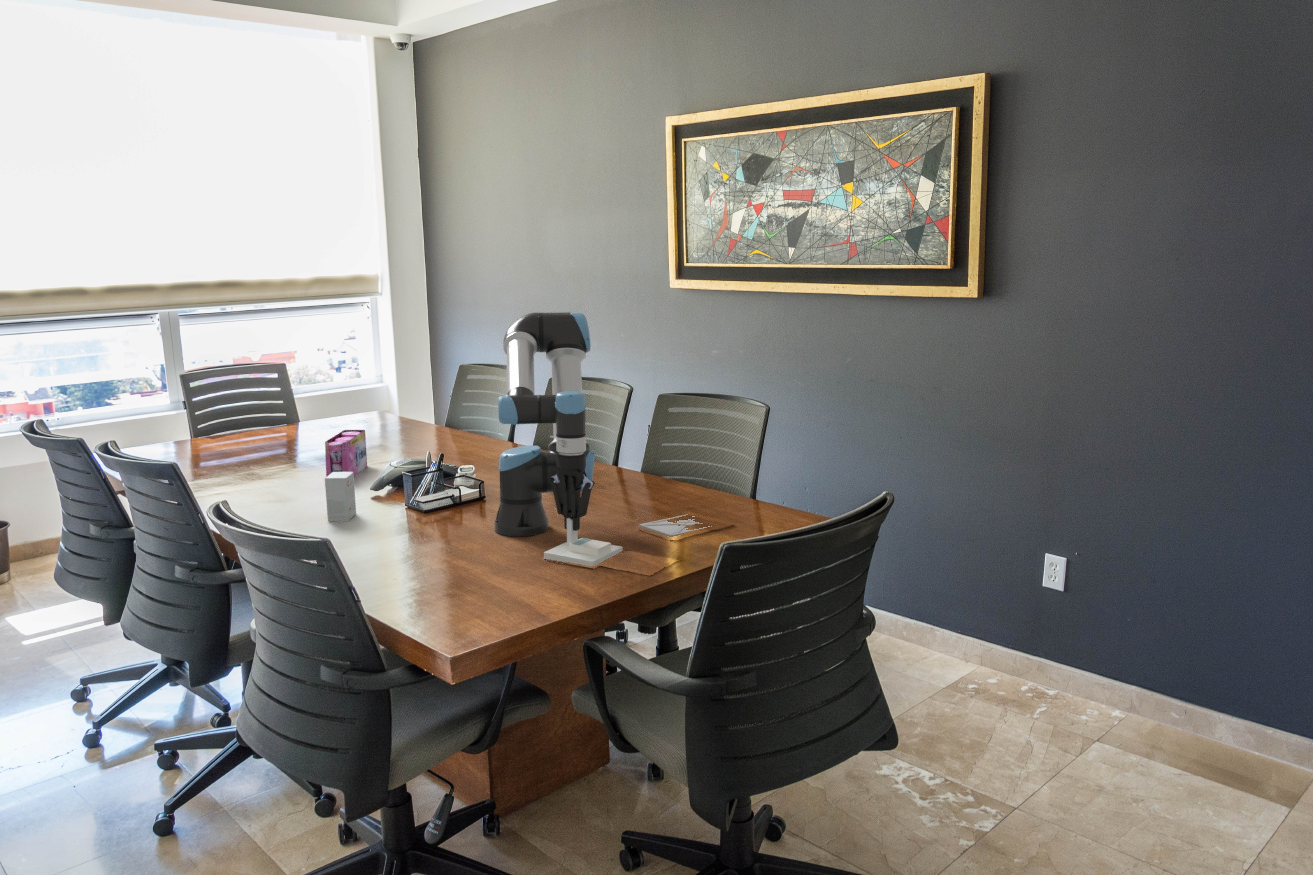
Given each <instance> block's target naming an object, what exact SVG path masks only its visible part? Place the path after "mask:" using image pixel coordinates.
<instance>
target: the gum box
mask: <svg viewBox="0 0 1313 875" xmlns="http://www.w3.org/2000/svg"><path fill="white" fill-rule="evenodd" d="M324 447H325V449H324V450H325V475H326V476H325V478H326V477H327V476H328V475H330V474H331V473H332V472H353V473H354V477H355V476H357V475H358V474H359V473H361V472H362V471H363V470H365V469H366V468H367V467H368V457H367V456H368V455H367V438H366V430H365V429H343V430H342V431H340V432H338V433H337V434H335V435H333V437H330V438H328V439H327V440H326V441H325V442H324Z"/></svg>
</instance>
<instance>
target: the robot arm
mask: <svg viewBox="0 0 1313 875" xmlns="http://www.w3.org/2000/svg"><path fill="white" fill-rule="evenodd" d="M588 324H589V323H588V320H587V316H586V315H585V314H584V313H581V312H572V311H568V312H566V311H565V312H564V311H563V312H562V311H561V312H539V311H537V312H530V313H527V314H524V315H522V316H520V317H519V318H517V319H516V320H514V322H513V323H512V324H511V325H509V327H508V329H507V331H506V332H505V334H504V338H503V351H504V353H505V355H506V382H505V383H506V385H505V388H506V389H505V392H506V394H505V395H500V396H498V399H497V403H498V404H497V405H498V407H497V412H498V415H497V416H498V421H499V423H501V424H502V425H513V426H516V425H533V424H535V425H538V424H539V425H541V424H543V425H545V424H547V425H548V424H549V425H550V424H552V426H553V427H552V432H553V440H551V442H550V443H549V444H548V446H547V447H548V451H545V450H544V451H542V449H541V447H540V445H522V446H516V447H512V448H510V449H507V450H504V451H503V452H501V453H500V455H499V459H498V460H499V464H498V465H499V466H498V471H499V496H500V498H499V506H498V510H497V513H496V516H495V520H494V531H495V532H496V533H498V534H500V535H501V536H508V537H529V536H536V535H540V534H542V533H545V532H547V531H548V530H549V527H550V526H549V518H548V516H547V514H546V510H545V507H544V503H543V497H542V494H544V493H547V494H548V493H551V494H552V493H553V497H554V501H555V507H556V511H557V514H558V515H561V516H562V517H564V518H563V519H564V529H565V530H566V542H567V543H571V542H574V541H576V540H578V539H579V538H578V534H579V532H578V531H579V530H580V528H581V524H580V522H581V521H580V519H581V518H582V517H585V516H587V512H588V508H589V504H590V499H591V493H592V489H593V488H594V486H595V485H596V484H595V482H596V481H594V480H593V477H594V468H595V467H594V466H595V453H596V452H595V450H593V449H590V443H589V442H588V441H587V439H586V438H587V436H586V422H587V421H586V419H587V418H586V414H587V413H586V408H587V403H586V395H585V393H584V392H583V380H582V378H583V376H582V362H583V360H585V359H586V357H587V353H589V352H590V351H591V346H592V345H591V338H590V337H591V336H590V329H589V325H588ZM536 353H545V357H546V360H547V361H549V363H551V388H552V392H551V393H552V394H535V357H534V356H535V354H536Z"/></svg>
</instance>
